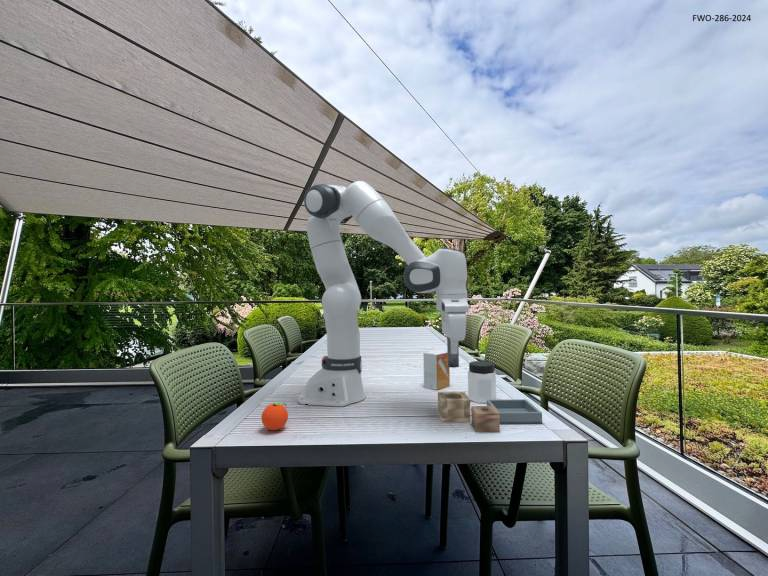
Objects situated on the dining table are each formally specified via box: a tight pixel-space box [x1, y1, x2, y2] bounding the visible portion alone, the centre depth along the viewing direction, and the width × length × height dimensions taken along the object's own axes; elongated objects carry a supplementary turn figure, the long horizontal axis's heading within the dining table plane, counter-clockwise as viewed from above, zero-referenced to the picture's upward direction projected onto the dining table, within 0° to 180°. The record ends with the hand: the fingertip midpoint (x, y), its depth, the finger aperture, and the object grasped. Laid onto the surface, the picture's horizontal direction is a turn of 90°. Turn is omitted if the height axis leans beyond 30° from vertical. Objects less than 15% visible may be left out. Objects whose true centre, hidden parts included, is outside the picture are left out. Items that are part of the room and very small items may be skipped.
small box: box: [423, 349, 451, 391], centre depth 141 cm, size 8×6×13 cm
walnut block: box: [470, 405, 501, 434], centre depth 100 cm, size 6×6×5 cm
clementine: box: [261, 402, 289, 431], centre depth 102 cm, size 8×7×7 cm
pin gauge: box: [446, 335, 460, 369], centre depth 108 cm, size 3×3×9 cm
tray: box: [486, 398, 543, 425], centre depth 108 cm, size 12×12×3 cm
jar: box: [467, 360, 497, 404], centre depth 124 cm, size 9×8×12 cm
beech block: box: [437, 391, 471, 423], centre depth 109 cm, size 8×8×6 cm
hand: (452, 352), depth 108 cm, fingers closed on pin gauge, 3 cm apart
